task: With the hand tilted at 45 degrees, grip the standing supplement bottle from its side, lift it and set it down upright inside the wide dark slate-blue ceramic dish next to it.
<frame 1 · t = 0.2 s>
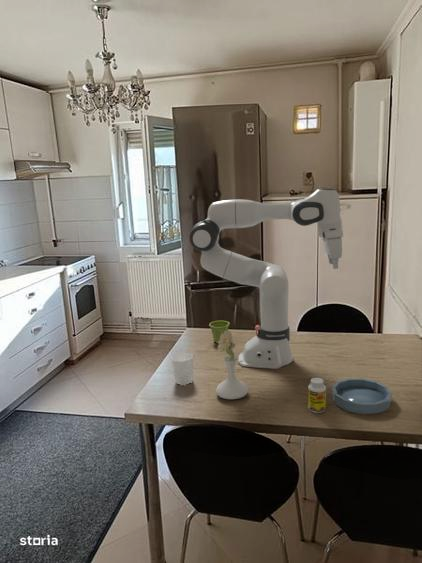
hand: (333, 266, 168), 39 cm above the table, tool pointing down, fingers open, 8 cm apart
supplement bottle: (317, 410, 140), on the table
slate dish: (361, 400, 144), on the table
plant pot: (220, 341, 205), on the table
white cup: (184, 382, 165), on the table
flower in vase: (232, 396, 152), on the table
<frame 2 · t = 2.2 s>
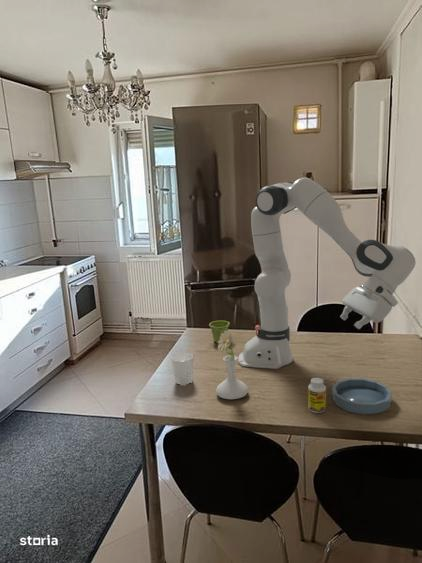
hand: (349, 322, 143), 26 cm above the table, tool tilted 45°, fingers open, 8 cm apart
nothing on the table moved.
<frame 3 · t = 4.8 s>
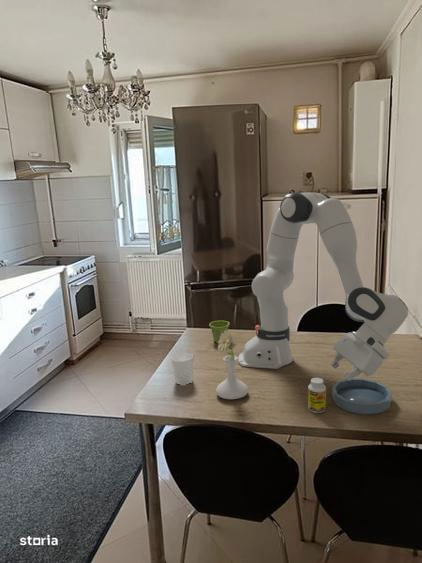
hand: (339, 372, 139), 12 cm above the table, tool tilted 45°, fingers open, 8 cm apart
nothing on the table moved.
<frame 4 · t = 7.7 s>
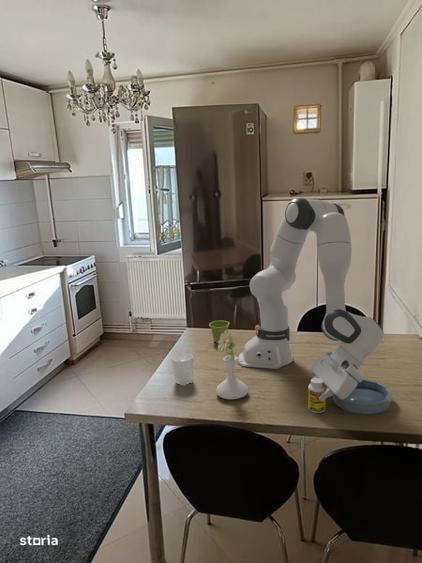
hand: (315, 394, 139), 5 cm above the table, tool tilted 45°, fingers closed on supplement bottle, 5 cm apart
supplement bottle: (317, 409, 140), on the table, touching gripper
everything else where it was.
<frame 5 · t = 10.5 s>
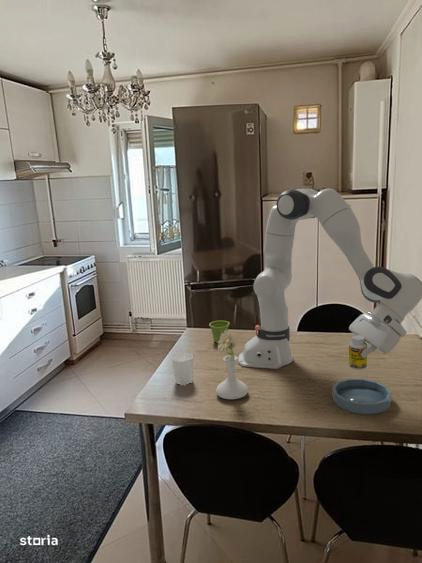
hand: (356, 351, 139), 18 cm above the table, tool tilted 45°, fingers closed on supplement bottle, 5 cm apart
supplement bottle: (357, 367, 141), point 12 cm above the table, touching gripper
everything else where it was.
when the fingers open (8 cm above the table, at t = 13.4 s): supplement bottle drops 1 cm, resting on slate dish.
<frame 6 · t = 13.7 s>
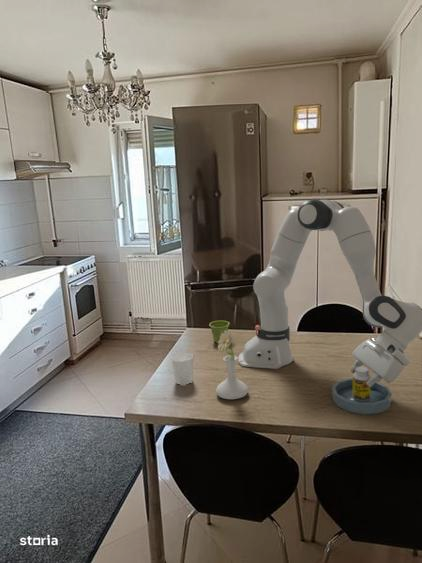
hand: (359, 378, 142), 8 cm above the table, tool tilted 45°, fingers open, 8 cm apart
supplement bottle: (361, 398, 144), point 1 cm above the table, touching slate dish
everything else where it was.
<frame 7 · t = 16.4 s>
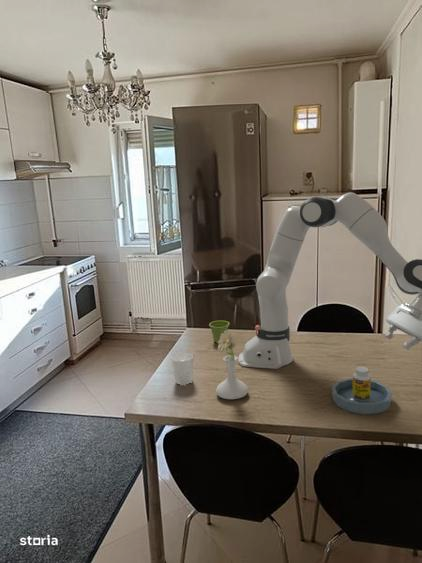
hand: (395, 342, 142), 19 cm above the table, tool tilted 45°, fingers open, 8 cm apart
nothing on the table moved.
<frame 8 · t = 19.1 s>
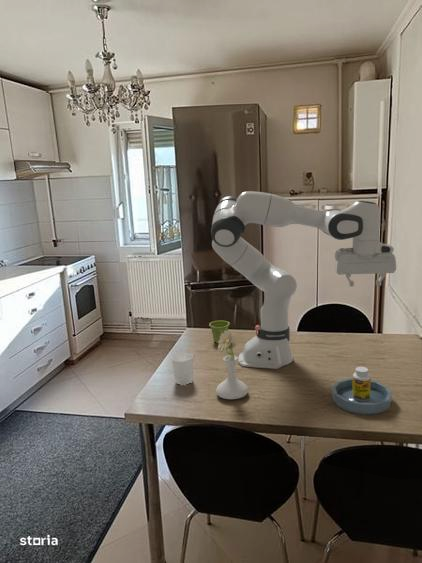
hand: (364, 285, 155), 34 cm above the table, tool pointing down, fingers open, 8 cm apart
nothing on the table moved.
at the end: supplement bottle inside the target area on the slate dish (0.2 cm from its centre), point 0.8 cm above the slate dish's base; supplement bottle tilted 0°; the gripper is holding nothing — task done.
